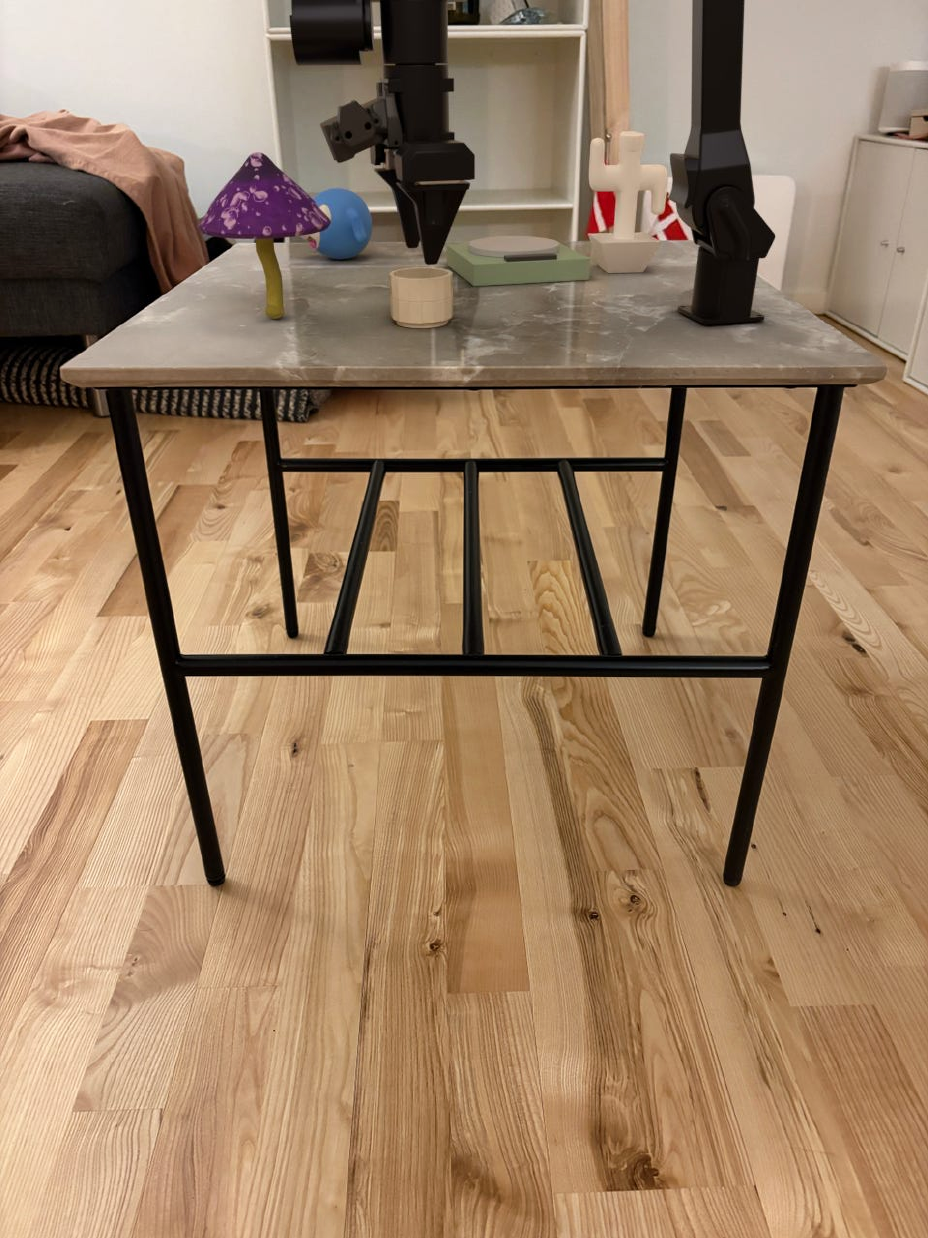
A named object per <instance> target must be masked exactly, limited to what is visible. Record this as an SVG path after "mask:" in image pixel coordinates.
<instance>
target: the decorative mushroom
mask: <svg viewBox="0 0 928 1238" xmlns="http://www.w3.org/2000/svg"><path fill="white" fill-rule="evenodd" d="M330 223H331V220H330V219H329V218H328V217H327V216H326V214H325V213H324V212H323V211H322V210H321V209H320V208H319V206H318V205H317V204H316V202H315V201H314V200H313V198H312V197H311V196H310V195H309V194H308V193H307V192H306V191H305V190H304V189H303V188H302V187H301V186H300V185H299V184H298V183H296V182H295V181H294V180H293V179H292V178H291V177H289V176H288V175H287V174H286V173H285V172H284V171H282V169H280V168H279V167H278V166H277V165H276V164H275V163H274V162H273V160H271V158H270V157H269V156H268V155H267V154H264V153H263V152H260V151H255V152H252V153H251V154H249V156H248V157H247V158H246V159H245V160H244V162H243V163H242V165H241V166H240V167H239V169H238V170H237V171H236V172H235V174H234V175H233V176H232V177H231V178H230V179H229V181H228V182H227V183H225V185H223V188H222V189H221V190H220V191H219V193H218V194H217V196H216V197H214V199H213V201H212V202H211V203H210V204H209V206H208V209H207V211H206V212H205V214H204V216H203V217H202V219H201V220H200V222H199V223H198V227H197V228H198V229H199V230H200V232H201V233H203V234H205V235H206V236H209V237H214V238H215V237H216V238H222V239H232V240H233V239H235V240H254V241H255V251H256V254H257V256H258V258H259V261H260V264H261V267H262V270H263V274H264V278H265V294H266V305H265V308H264V313H265V315H266V316H267V317H268V318H269V319H274V320H277V319H280V318H283V316H284V315H285V313H286V311H285V305H284V286H283V284H284V283H283V275H282V271H281V268H280V264H279V261H278V258H277V254H276V251H275V242H274V239H285V238H294V237H295V238H296V237H299V236H303V235H309V234H314V233H318V232H321V231H324V230H325V229H327V228H328V227H329V225H330Z"/></svg>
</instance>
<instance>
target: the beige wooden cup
mask: <svg viewBox="0 0 928 1238" xmlns="http://www.w3.org/2000/svg"><path fill="white" fill-rule="evenodd" d="M453 275H454V273H453V271H452V270H450V269H446V268H441V267H432V266H431V267H430V266H417V267H405V268H399V269H395V270H392V271H390V272H389V273H388V276H389V278H388V279H389V295H390V297H389V298H390V299H389V300H390V316H391V318H392V320H393V321H395V323H396V325H397V326H400V327H404V328H409V329H432V328H438V327H442V326H445V325H447V324H449V322H450V320H451V319H452V318H454V279H453V278H454V276H453Z"/></svg>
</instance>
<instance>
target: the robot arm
mask: <svg viewBox="0 0 928 1238" xmlns="http://www.w3.org/2000/svg"><path fill="white" fill-rule="evenodd" d="M467 1H468V0H290V4H291V5H290V6H291V7H290V8H291V14H289V17H288V18H289V28H290V29H289V30H290V38H291V45H292V51H293V52H292V53H293V57H294V60H295V63H296V65H297V66H299V67H300V66H362V65H363V53H366V52H374V51H375V29H374V12H373V3H379V19H380V20H379V22H380V41H381V64H382V77H381V78H378V81H379V82H376V83H375V84H376V85H375V86H376V87H375V90H376V98H373V99H371V100H369V101H367V102H364V103H361V104H360V103H359V102H358V101H357V100H354V99H352V100H351V101H350V102H348V103H346V104H343V105H339V106H337V115H335V116H332V117H330V118H328V119H326V120H324V121H322V122H320V123H319V127H320V128H321V131H322V134H323V137H324V138H325V141H326V143H327V146H328V148H329V152H330V154H331V156H332V159H333V160H334V161H336V162H337V164H342V163H345V162H347V161H349V160H352V159H354V158H355V156H356V154H358V153H361V152H364V151H365V150H368V149H369V153H370V155H369V156H370V157H369V158H370V164H371V165H373V166H381V165H382V167H376V168H373V170H374V173H376V174H377V176H379V178H381V179H382V180H383V181H384V182H385V184H387V185H388V186H389V187H390V189H391V191H392V195H393V199H394V203H395V207H396V211H397V215H398V219H399V222H400V227H401V230H402V234H403V238H404V242H405V243H404V244H405V246H406V248H407V249H417V248H418V247H419V245H421V251H422V256H423V262H424V263H425V265H426V266H434V265H435V266H436V265H437V264H438V263H439V261H440V257H441V256H442V253H443V250H444V247H445V245H446V242H447V239H448V237H449V234H450V233H451V229H452V227H453V224H454V222H455V219H456V217H457V215H458V212H459V210H460V208H461V205H462V202H463V200H464V197H465V195H466V193H467V191H468V190H470V187H471V182H469V181H471V180H475V179H476V154H475V153H474V152H473V151H472V150H471V148H469V147H468V145H467V144H466V143H465V142H463V141H460V140H456V139H455V136H456V135H455V134H456V133H455V131H451V130H450V93H454V92H455V78H454V77H449V32H448V31H449V16H448V15H449V14H448V13H449V12H448V3H465V2H467ZM691 3H692V4H691V6H692V8H691V10H692V11H691V102H690V103H691V106H690V107H691V108H690V109H691V112H690V113H691V115H690V116H691V117H690V119H691V121H690V123H691V124H690V132H689V136H688V138H687V143H686V145H685V149H684V152H683V153H679V152H677V153H676V152H671V153H670V154H669V167H670V171H671V178H672V182H671V188H670V191H669V195H668V200H669V201H671V202H673V203H674V204H675V208H676V213H677V215H678V217H679V218H680V220H681V221H682V222H683V223H684V224H685V225H686V226H687V227H688V228H690V231H691V235H692V239H693V240H692V241H693V244H695V245H696V246H698V249H697V257H696V266H695V272H694V273H695V274H694V280H693V281H694V283H693V290H692V300H691V304H687V305H686V304H685V305H678V306H677V312H679V313H680V314H683V316H686V317H688V318H690V319H691V320H694V321H696V322H697V323H699V324H702V325H706V326H709V325H711V326H712V325H725V324H739V323H741V324H742V323H752V322H753V323H754V322H764V321H765V317H766V315H764V314H762V313H760V312H759V311H758V312H757V311H755V310H753V303H754V296H755V290H756V289H755V288H756V282H757V276H758V270H759V263H760V259H765V258H767V256H768V254H769V252H770V250H771V248H772V246H773V243H774V242H775V239H776V233H774V231H773V230H772V228H771V227H770V226H769V225H768V224H767V223H766V221H765V220H764V218H763V217H762V216H761V215H760V214H759V212H758V211H757V209H756V208H755V203H756V198H755V197H756V196H755V190H754V181H753V173H752V172H753V171H752V165H751V160H750V157H749V152H748V148H747V145H746V142H745V138H744V134H743V130H742V123H741V122H742V118H741V117H742V93H743V91H742V89H743V87H742V86H743V63H744V61H743V58H744V57H743V56H744V31H745V30H744V29H745V4H746V3H745V0H692V2H691Z"/></svg>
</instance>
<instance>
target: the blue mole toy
mask: <svg viewBox="0 0 928 1238" xmlns="http://www.w3.org/2000/svg"><path fill="white" fill-rule="evenodd" d="M312 199H313V200H314V201H315V202H316V204H317V205H318V206H319V208H320V209H321V210H322V211H323V212H324V213H325V214H326V216H327V217H328V218H329V219H330V220H331V223H330V225H329V227H328V228H327V229H325V230H324V231H321V232H318V233H314V234H309V235H303V236H298V237H299V238H301V239H302V240H303V241H308V243H309V247H311V248H312V249H314V250H316V252H318V253H319V254H321V255H322V256H323V257H326V258H329V259H332V260H348V259H351V258H354V257H356V256H358V255H359V254H361V253H362V252H363V251H364V250H365V249H366V247H367V246H368V244H369V243H370V241H371V237H372V233H373V218H372V214H371V211H370V209H369V207H368V205H367V203H366V201H364V199H363V198H362V197H361V196H360V195H359V194H357V193H356V192H354V191H352V190H350V189H347V188H341V187H340V188H339V187H335V188H328V189H324V190H322V191H320V192H318V193H317V194H316V195H315V196H313V198H312Z"/></svg>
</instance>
